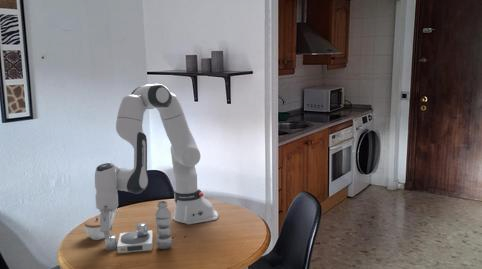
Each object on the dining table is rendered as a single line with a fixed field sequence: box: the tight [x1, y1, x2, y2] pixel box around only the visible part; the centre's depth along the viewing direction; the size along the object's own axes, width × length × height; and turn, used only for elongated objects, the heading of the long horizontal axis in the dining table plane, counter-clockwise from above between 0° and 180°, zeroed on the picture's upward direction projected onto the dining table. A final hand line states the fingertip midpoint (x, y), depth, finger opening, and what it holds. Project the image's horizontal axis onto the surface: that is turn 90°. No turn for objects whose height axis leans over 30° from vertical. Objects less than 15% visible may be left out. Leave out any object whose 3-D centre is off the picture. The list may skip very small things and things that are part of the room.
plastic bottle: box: [154, 200, 173, 250], centre depth 177 cm, size 6×7×20 cm
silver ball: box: [135, 222, 149, 238], centre depth 182 cm, size 5×5×5 cm
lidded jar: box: [84, 216, 105, 241], centre depth 190 cm, size 11×11×9 cm
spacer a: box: [104, 234, 118, 251], centre depth 179 cm, size 5×5×5 cm
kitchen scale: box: [116, 230, 154, 254], centre depth 182 cm, size 14×14×4 cm
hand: (108, 234), depth 178 cm, fingers open, 8 cm apart
